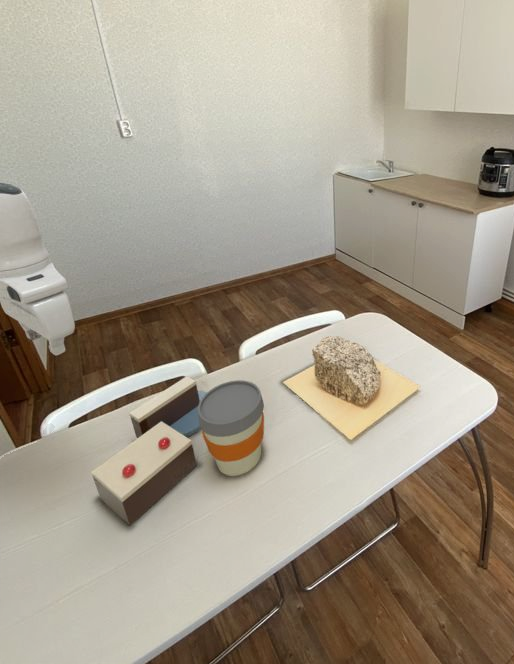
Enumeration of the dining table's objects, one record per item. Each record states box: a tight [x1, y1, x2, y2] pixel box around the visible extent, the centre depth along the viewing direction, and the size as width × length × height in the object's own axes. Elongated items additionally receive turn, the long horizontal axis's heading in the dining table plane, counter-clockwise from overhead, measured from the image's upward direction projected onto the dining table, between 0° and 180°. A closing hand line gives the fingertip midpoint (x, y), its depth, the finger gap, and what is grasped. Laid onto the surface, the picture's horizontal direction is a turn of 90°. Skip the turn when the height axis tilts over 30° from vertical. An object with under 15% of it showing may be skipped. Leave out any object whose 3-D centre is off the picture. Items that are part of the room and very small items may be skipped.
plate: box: [170, 390, 207, 438], centre depth 92 cm, size 15×15×1 cm
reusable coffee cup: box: [198, 379, 265, 477], centre depth 79 cm, size 13×13×15 cm
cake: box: [90, 421, 198, 526], centre depth 75 cm, size 10×14×9 cm
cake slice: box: [129, 376, 200, 439], centre depth 88 cm, size 4×14×7 cm, turn 148°
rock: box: [282, 335, 422, 441], centre depth 101 cm, size 28×22×16 cm
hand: (46, 345), depth 71 cm, fingers open, 8 cm apart
